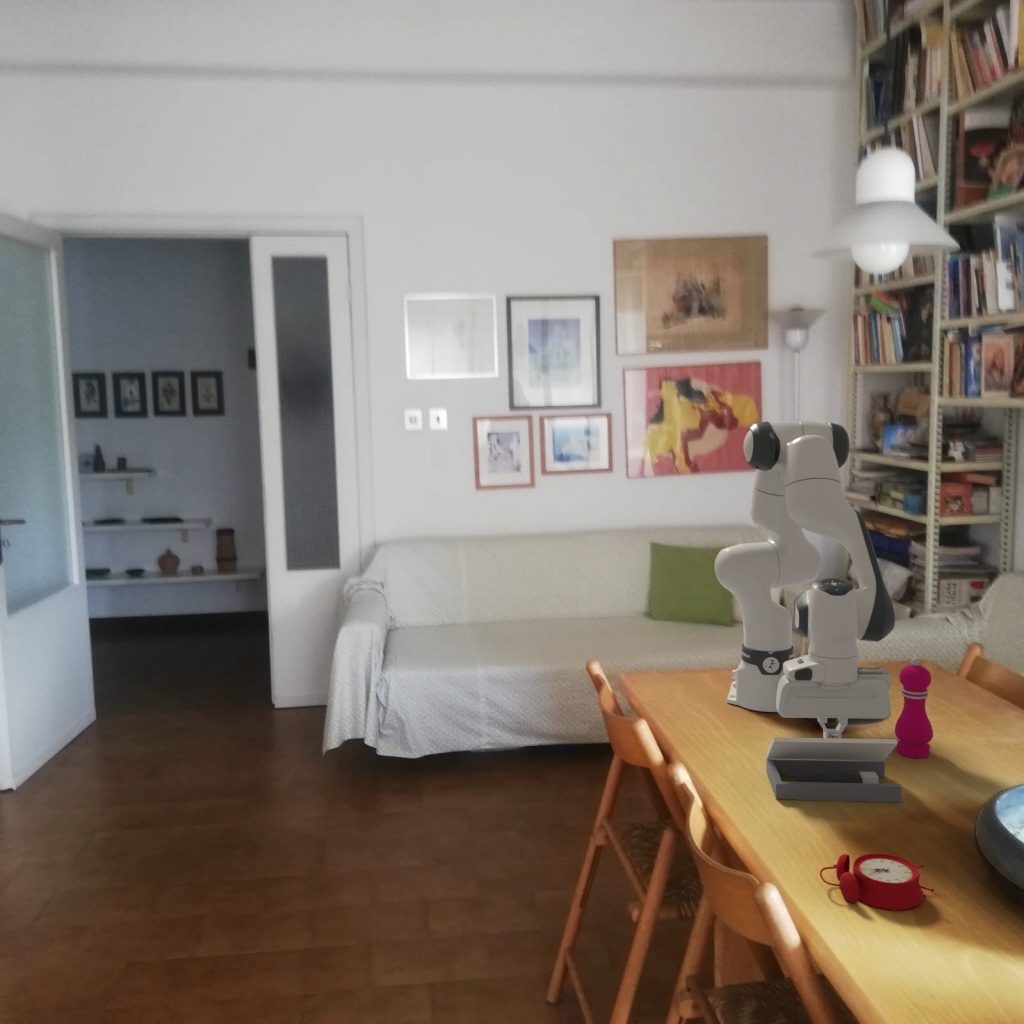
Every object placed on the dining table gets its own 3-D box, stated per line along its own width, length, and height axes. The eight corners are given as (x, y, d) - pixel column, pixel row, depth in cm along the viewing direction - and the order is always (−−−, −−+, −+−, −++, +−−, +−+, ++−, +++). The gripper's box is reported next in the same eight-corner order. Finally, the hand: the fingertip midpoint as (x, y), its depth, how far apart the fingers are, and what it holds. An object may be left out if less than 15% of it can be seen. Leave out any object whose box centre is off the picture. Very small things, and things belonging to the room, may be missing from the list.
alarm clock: (939, 892, 135) (832, 862, 138) (928, 931, 136) (822, 901, 139) (923, 856, 146) (824, 829, 148) (912, 893, 147) (814, 865, 149)
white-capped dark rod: (795, 789, 179) (796, 776, 179) (793, 783, 181) (793, 770, 181) (878, 790, 177) (878, 777, 177) (874, 785, 180) (874, 771, 180)
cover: (766, 758, 186) (766, 754, 186) (883, 760, 183) (883, 756, 184) (773, 741, 176) (773, 737, 177) (897, 743, 174) (896, 739, 174)
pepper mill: (936, 760, 191) (939, 663, 188) (898, 758, 192) (900, 662, 189) (928, 747, 198) (930, 653, 195) (891, 745, 199) (893, 652, 196)
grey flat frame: (766, 772, 187) (766, 757, 187) (882, 774, 184) (883, 760, 184) (775, 799, 175) (776, 784, 174) (900, 802, 172) (901, 786, 172)
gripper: (886, 663, 178) (885, 734, 179) (774, 662, 180) (774, 733, 182) (896, 672, 172) (894, 746, 173) (779, 672, 174) (779, 744, 176)
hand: (832, 739), depth 178 cm, fingers closed, pressing on cover
